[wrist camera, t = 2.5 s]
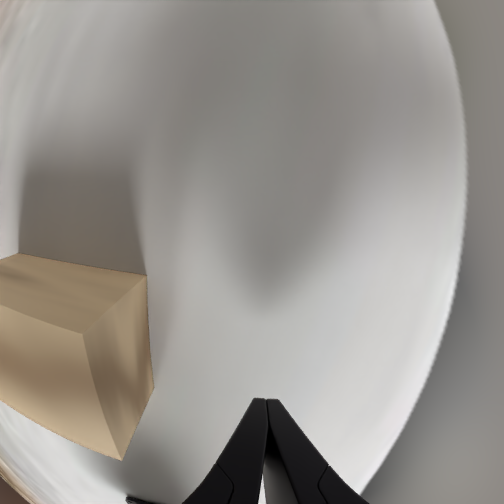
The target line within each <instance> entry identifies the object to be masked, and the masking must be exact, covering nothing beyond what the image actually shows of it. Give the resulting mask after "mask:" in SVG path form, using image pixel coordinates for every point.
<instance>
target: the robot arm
mask: <svg viewBox="0 0 504 504" xmlns="http://www.w3.org/2000/svg"><path fill="white" fill-rule="evenodd" d="M328 465H329V464H328V463H327V461H326V460H325V459H324V458H323V456H322V455H321V454H320V453H319V452H318V450H317V449H316V448H315V447H314V445H313V444H312V443H311V441H310V440H309V439H308V438H307V436H306V435H305V434H304V433H303V431H302V430H301V429H300V427H299V426H298V425H297V423H296V422H295V421H294V419H293V418H292V417H291V415H290V414H289V413H288V411H287V410H286V409H285V407H284V406H283V405H282V403H281V402H280V401H279V400H278V399H265V398H253V400H252V402H251V403H250V405H249V407H248V409H247V411H246V412H245V414H244V416H243V418H242V419H241V421H240V423H239V425H238V426H237V428H236V430H235V431H234V433H233V435H232V436H231V438H230V440H229V441H228V443H227V445H226V446H225V448H224V450H223V451H222V453H221V455H220V456H219V458H218V459H217V461H216V463H215V464H214V465H213V467H212V469H211V470H210V472H209V473H208V474H207V476H206V477H205V479H204V480H203V481H202V483H201V484H200V485H199V486H198V487H197V488H196V490H195V491H194V492H193V493H192V494H191V495H190V496H189V497H188V498H187V499H186V500H185V501H184V502H183V503H182V504H258V500H259V494H260V487H261V480H262V473H263V480H264V489H265V497H266V504H369V503H368V502H367V501H365V500H364V499H363V498H362V497H361V496H359V495H358V494H357V493H356V492H355V491H354V490H353V489H351V488H350V487H349V486H348V485H347V484H346V483H345V482H344V481H343V480H342V479H341V478H340V477H339V475H338V474H337V473H336V472H335V471H334V470H333V468H332V467H331V466H328ZM126 502H127V503H128V504H151V503H147V502H143V501H140V500H137V499H133V498H130V497H126Z"/></svg>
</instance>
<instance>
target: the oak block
mask: <svg viewBox="0 0 504 504" xmlns="http://www.w3.org/2000/svg"><path fill="white" fill-rule="evenodd" d="M153 389H154V383H153V374H152V365H151V354H150V342H149V327H148V307H147V275H142V274H135V273H128V272H122V271H115V270H109V269H103V268H97V267H91V266H85V265H79V264H74V263H68V262H62V261H57V260H52V259H46V258H41V257H36V256H31V255H26V254H21V253H17V254H14V255H12V256H9V257H6V258H4V259H1V260H0V400H1V401H2V402H4V403H5V404H7V405H8V406H10V407H11V408H13V409H14V410H16V411H17V412H19V413H20V414H22V415H24V416H25V417H27V418H29V419H30V420H32V421H34V422H35V423H37V424H39V425H41V426H42V427H44V428H46V429H48V430H50V431H52V432H54V433H56V434H58V435H60V436H62V437H64V438H66V439H68V440H70V441H72V442H74V443H77V444H79V445H81V446H84V447H86V448H88V449H91V450H93V451H96V452H98V453H101V454H103V455H106V456H109V457H112V458H115V459H118V460H121V461H122V460H123V458H124V455H125V453H126V451H127V448H128V446H129V444H130V441H131V439H132V437H133V434H134V432H135V430H136V427H137V425H138V423H139V421H140V418H141V416H142V414H143V412H144V409H145V407H146V405H147V403H148V400H149V398H150V396H151V394H152V392H153Z"/></svg>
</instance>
